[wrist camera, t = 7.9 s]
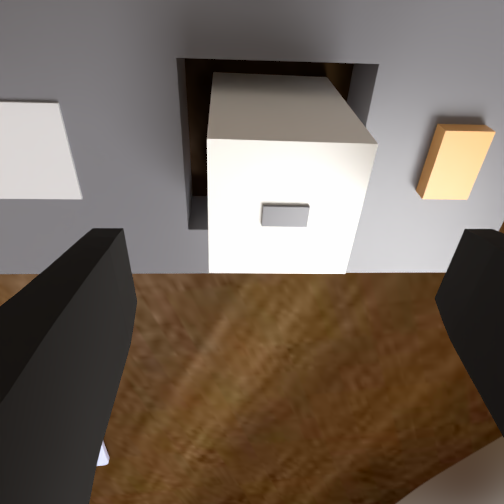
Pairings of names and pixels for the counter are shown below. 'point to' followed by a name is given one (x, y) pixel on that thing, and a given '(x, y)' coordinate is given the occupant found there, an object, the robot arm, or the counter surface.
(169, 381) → the counter surface
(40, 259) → the power strip
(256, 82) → the block
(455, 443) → the counter surface
